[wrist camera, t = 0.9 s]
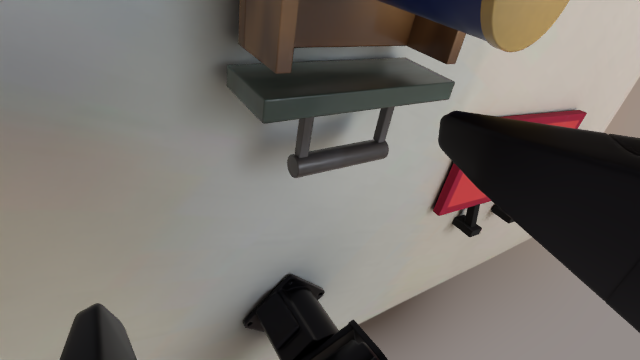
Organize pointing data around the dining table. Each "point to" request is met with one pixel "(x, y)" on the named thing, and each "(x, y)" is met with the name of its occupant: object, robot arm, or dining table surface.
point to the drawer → (336, 70)
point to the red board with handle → (467, 195)
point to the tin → (490, 18)
